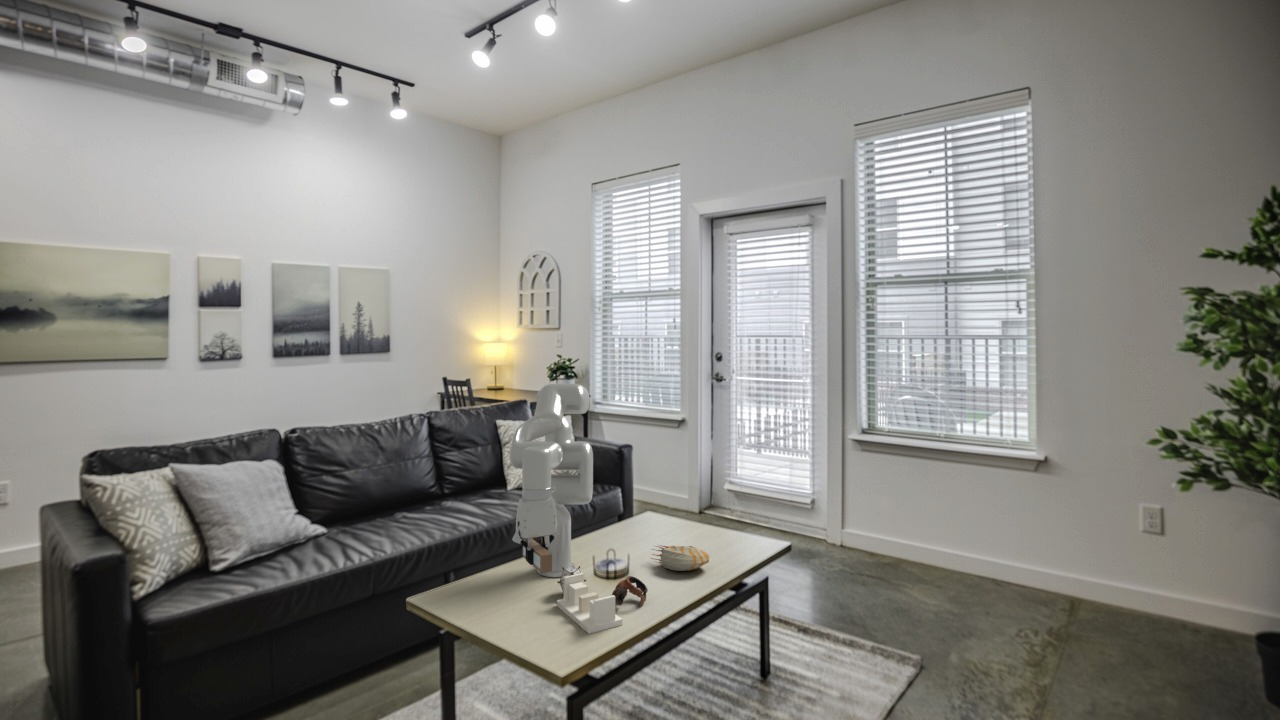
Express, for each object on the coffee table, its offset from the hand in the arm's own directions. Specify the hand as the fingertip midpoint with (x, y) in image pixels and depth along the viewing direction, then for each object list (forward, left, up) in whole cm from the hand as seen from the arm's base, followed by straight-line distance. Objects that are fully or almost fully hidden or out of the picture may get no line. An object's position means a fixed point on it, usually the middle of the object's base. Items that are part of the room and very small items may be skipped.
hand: (536, 561), depth 166 cm
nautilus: (-15, +56, -17) cm, 61 cm away
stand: (+2, +14, -17) cm, 22 cm away
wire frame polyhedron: (-13, +16, -17) cm, 27 cm away
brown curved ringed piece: (+1, +27, -17) cm, 32 cm away
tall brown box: (0, 0, -1) cm, 1 cm away
